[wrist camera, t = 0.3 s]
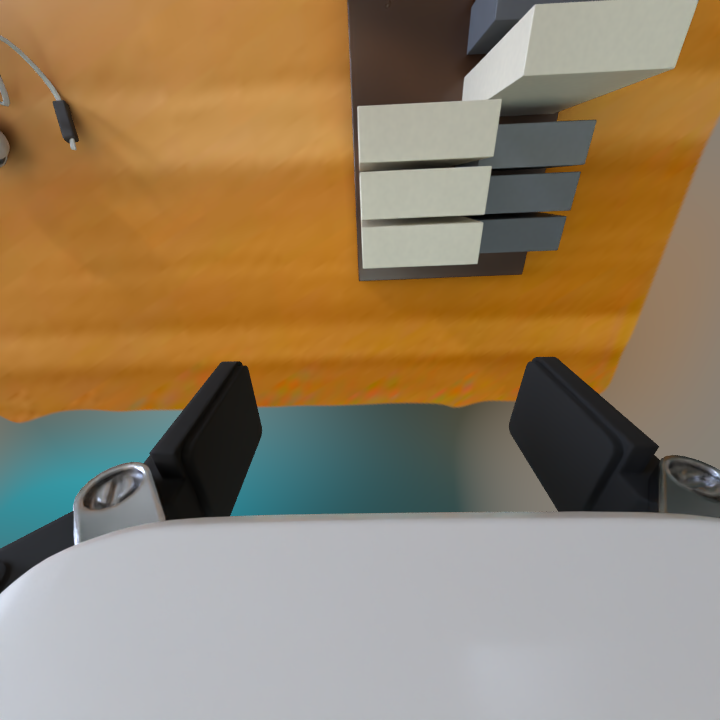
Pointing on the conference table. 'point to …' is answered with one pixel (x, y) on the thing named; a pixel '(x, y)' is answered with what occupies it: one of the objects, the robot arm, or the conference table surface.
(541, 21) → the ivory book
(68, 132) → the clip-on lamp
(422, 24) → the shelf board
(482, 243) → the grey books
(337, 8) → the conference table surface
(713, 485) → the robot arm
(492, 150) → the ivory books
